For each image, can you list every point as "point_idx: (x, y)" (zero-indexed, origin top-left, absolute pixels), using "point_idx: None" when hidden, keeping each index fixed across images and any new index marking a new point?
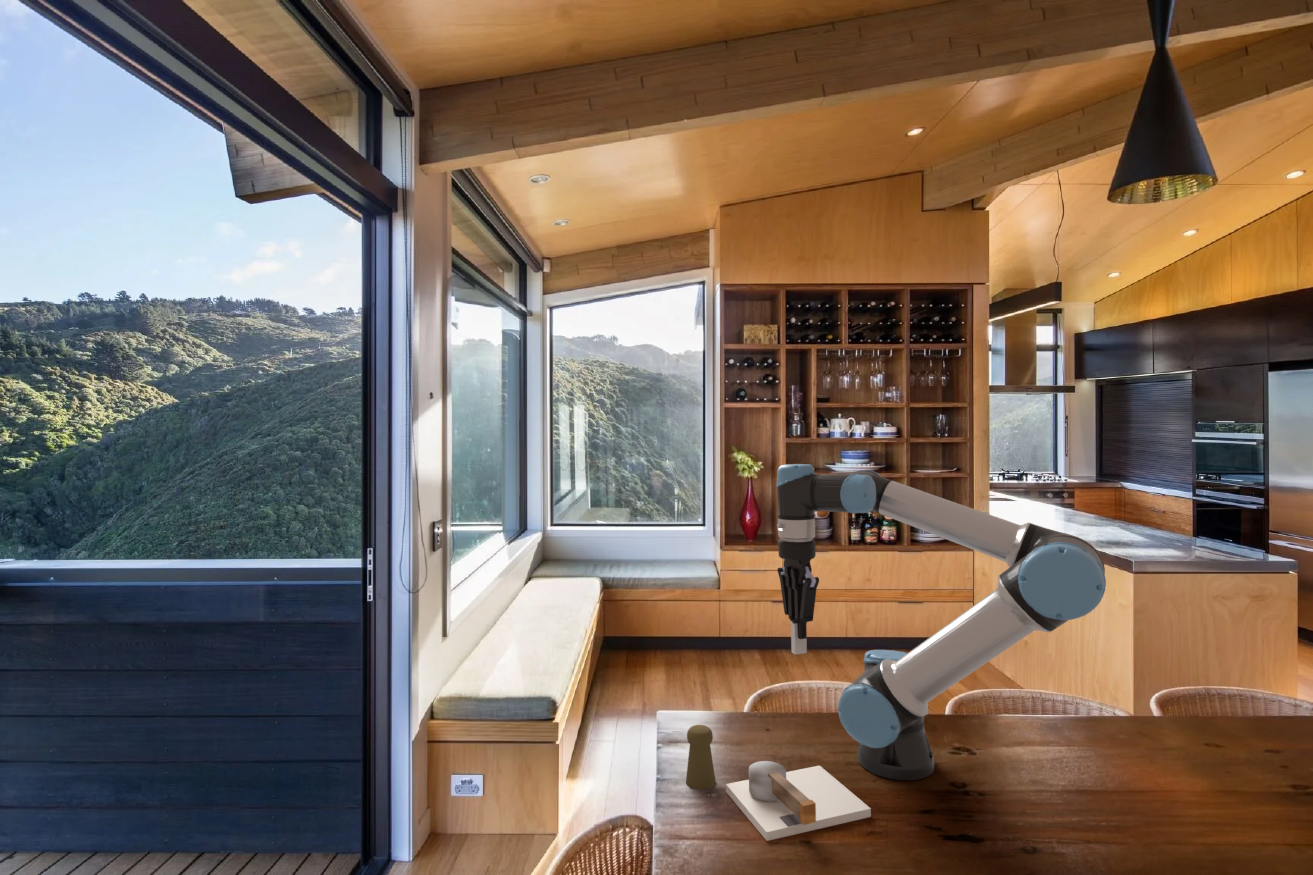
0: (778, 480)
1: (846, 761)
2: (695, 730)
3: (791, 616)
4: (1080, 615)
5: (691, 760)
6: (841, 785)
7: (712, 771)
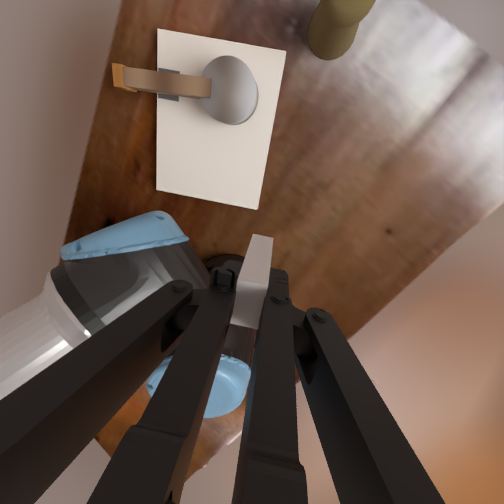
0: None
1: None
2: None
3: (265, 300)
4: None
5: None
6: (207, 197)
7: (315, 37)
